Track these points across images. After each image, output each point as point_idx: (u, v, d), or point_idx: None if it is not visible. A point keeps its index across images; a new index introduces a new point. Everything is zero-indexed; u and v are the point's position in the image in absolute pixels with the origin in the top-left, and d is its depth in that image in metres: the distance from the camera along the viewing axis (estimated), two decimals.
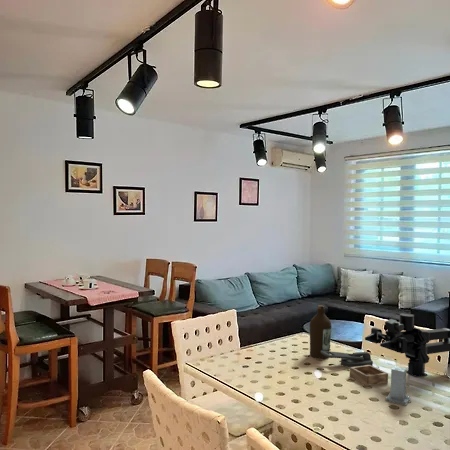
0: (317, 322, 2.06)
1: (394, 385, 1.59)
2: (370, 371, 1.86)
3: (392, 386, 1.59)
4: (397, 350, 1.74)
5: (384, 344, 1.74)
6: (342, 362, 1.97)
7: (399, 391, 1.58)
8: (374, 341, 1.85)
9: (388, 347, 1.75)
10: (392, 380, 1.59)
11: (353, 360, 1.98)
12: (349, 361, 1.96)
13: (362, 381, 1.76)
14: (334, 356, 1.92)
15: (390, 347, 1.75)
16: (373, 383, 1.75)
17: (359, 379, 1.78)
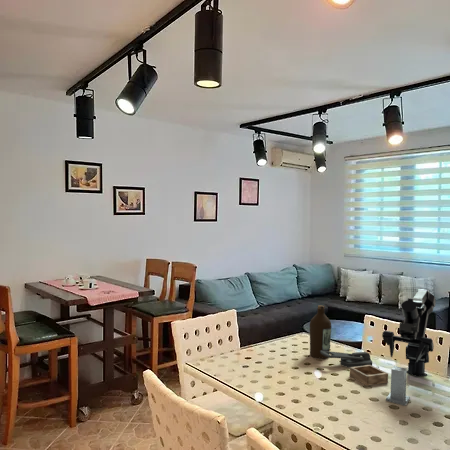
0: (317, 322, 2.06)
1: (394, 385, 1.59)
2: (370, 371, 1.86)
3: (392, 386, 1.59)
4: (427, 351, 1.67)
5: (418, 358, 1.64)
6: (342, 362, 1.97)
7: (399, 391, 1.58)
8: (393, 347, 1.73)
9: (420, 356, 1.65)
10: (392, 380, 1.59)
11: (353, 360, 1.98)
12: (349, 361, 1.96)
13: (362, 381, 1.76)
14: (334, 356, 1.92)
15: (421, 354, 1.66)
16: (373, 383, 1.75)
17: (359, 379, 1.78)
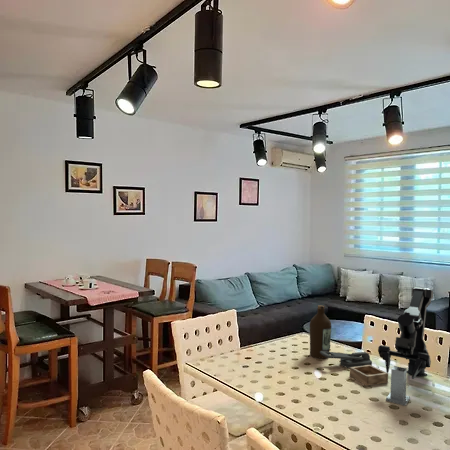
0: (317, 322, 2.06)
1: (394, 385, 1.59)
2: (370, 371, 1.86)
3: (392, 386, 1.59)
4: (424, 367, 1.62)
5: (414, 374, 1.59)
6: (341, 362, 1.97)
7: (399, 391, 1.58)
8: (389, 362, 1.68)
9: (417, 372, 1.60)
10: (392, 380, 1.59)
11: (352, 360, 1.98)
12: (348, 361, 1.96)
13: (362, 381, 1.76)
14: (334, 356, 1.91)
15: (418, 370, 1.61)
16: (373, 383, 1.75)
17: (359, 379, 1.78)
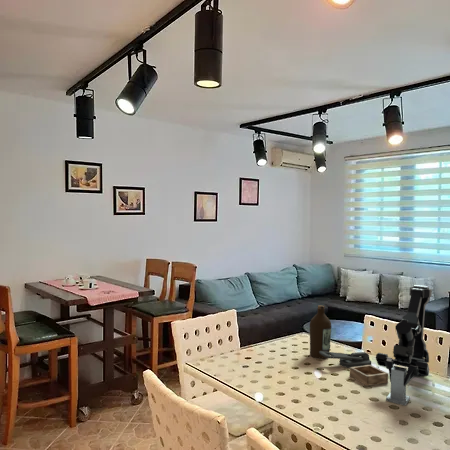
0: (317, 322, 2.06)
1: (394, 385, 1.59)
2: (370, 371, 1.86)
3: (392, 386, 1.59)
4: (416, 374, 1.61)
5: (406, 382, 1.58)
6: (341, 362, 1.97)
7: (399, 390, 1.58)
8: None
9: (409, 379, 1.59)
10: (392, 380, 1.59)
11: (352, 360, 1.97)
12: (348, 361, 1.96)
13: (362, 381, 1.76)
14: (333, 357, 1.91)
15: (410, 377, 1.60)
16: (373, 383, 1.75)
17: (359, 379, 1.78)
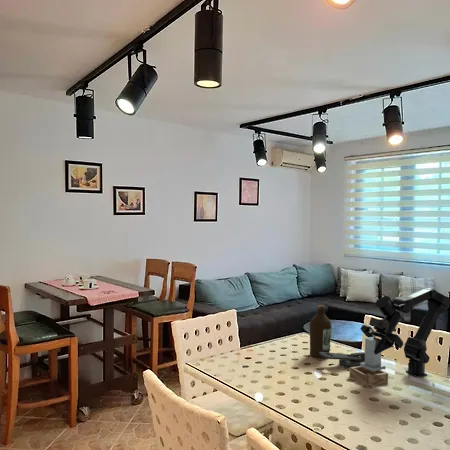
0: (317, 322, 2.06)
1: (367, 353, 1.75)
2: (370, 371, 1.86)
3: (366, 353, 1.76)
4: (391, 346, 1.73)
5: (378, 351, 1.73)
6: (341, 363, 1.96)
7: (370, 358, 1.74)
8: None
9: (382, 349, 1.73)
10: (366, 348, 1.76)
11: (351, 361, 1.97)
12: (348, 362, 1.95)
13: (362, 381, 1.76)
14: (334, 357, 1.90)
15: (384, 348, 1.73)
16: (373, 383, 1.75)
17: (359, 379, 1.78)
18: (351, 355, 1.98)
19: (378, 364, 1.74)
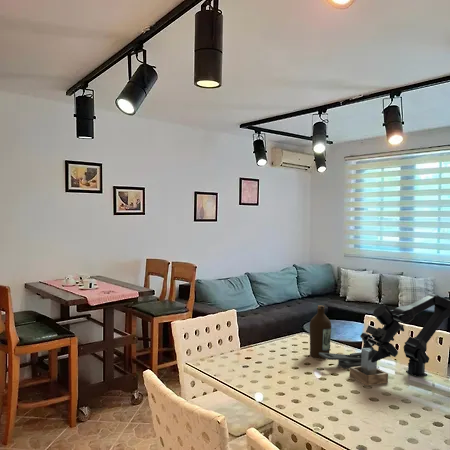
0: (317, 322, 2.06)
1: (363, 363, 1.80)
2: None
3: (362, 363, 1.81)
4: (388, 355, 1.76)
5: (374, 359, 1.76)
6: (340, 363, 1.95)
7: (365, 368, 1.79)
8: None
9: (379, 358, 1.76)
10: (362, 358, 1.81)
11: (351, 361, 1.96)
12: (347, 362, 1.95)
13: (362, 381, 1.76)
14: (333, 358, 1.89)
15: (381, 357, 1.76)
16: (373, 383, 1.75)
17: (359, 379, 1.78)
18: (350, 355, 1.97)
19: None
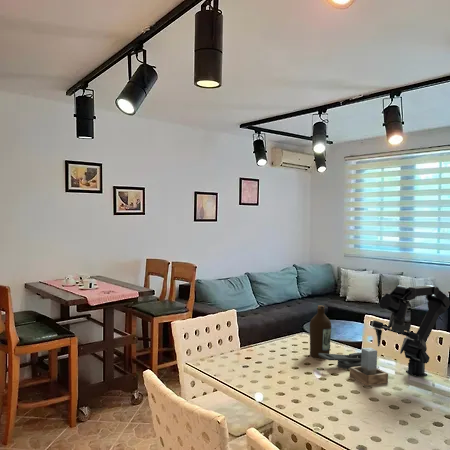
0: (317, 322, 2.06)
1: (363, 363, 1.80)
2: None
3: (362, 363, 1.81)
4: None
5: None
6: (340, 364, 1.94)
7: (365, 368, 1.79)
8: None
9: None
10: (362, 358, 1.81)
11: (350, 361, 1.96)
12: (347, 363, 1.94)
13: (362, 381, 1.76)
14: (333, 358, 1.88)
15: None
16: (373, 383, 1.75)
17: (359, 379, 1.78)
18: (350, 356, 1.97)
19: None
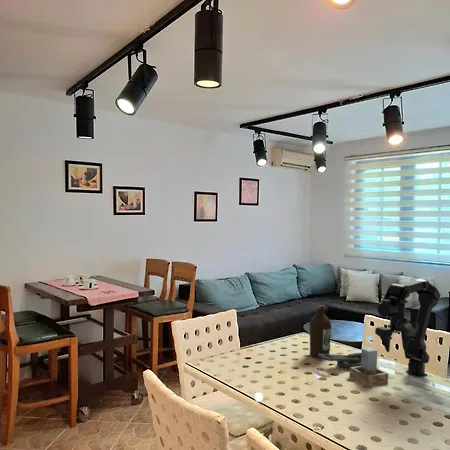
0: (317, 322, 2.06)
1: (363, 363, 1.80)
2: None
3: (362, 363, 1.81)
4: None
5: None
6: (339, 364, 1.94)
7: (365, 368, 1.79)
8: None
9: None
10: (362, 358, 1.81)
11: (349, 362, 1.95)
12: (346, 363, 1.94)
13: (362, 381, 1.76)
14: (333, 359, 1.88)
15: None
16: (373, 383, 1.75)
17: (359, 379, 1.78)
18: (349, 356, 1.96)
19: None
